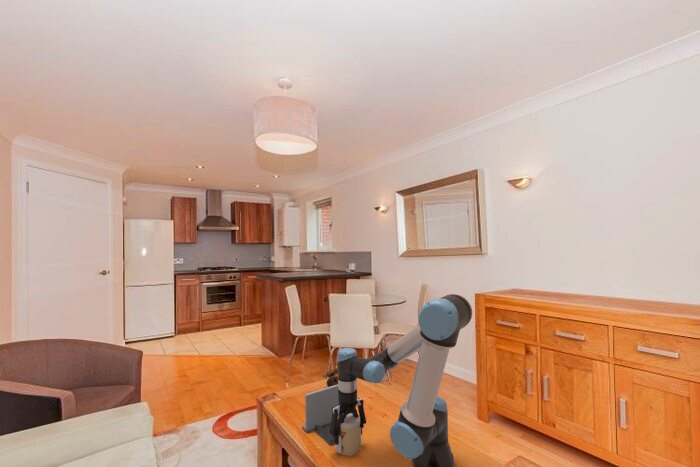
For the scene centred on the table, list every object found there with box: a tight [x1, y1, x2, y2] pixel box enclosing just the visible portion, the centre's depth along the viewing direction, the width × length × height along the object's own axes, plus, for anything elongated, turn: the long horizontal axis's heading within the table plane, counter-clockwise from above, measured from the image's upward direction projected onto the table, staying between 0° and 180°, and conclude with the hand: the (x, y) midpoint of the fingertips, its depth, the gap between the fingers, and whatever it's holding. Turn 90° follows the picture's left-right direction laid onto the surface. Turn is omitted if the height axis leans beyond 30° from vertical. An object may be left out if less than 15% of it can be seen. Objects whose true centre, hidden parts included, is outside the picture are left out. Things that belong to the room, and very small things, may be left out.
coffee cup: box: [340, 413, 360, 457], centre depth 132 cm, size 9×9×12 cm
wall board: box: [301, 384, 343, 434], centre depth 152 cm, size 5×22×16 cm, turn 124°
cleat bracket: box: [315, 424, 336, 446], centre depth 144 cm, size 14×15×2 cm
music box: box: [321, 367, 338, 387], centre depth 166 cm, size 15×11×20 cm
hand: (348, 447), depth 132 cm, fingers closed on coffee cup, 9 cm apart
